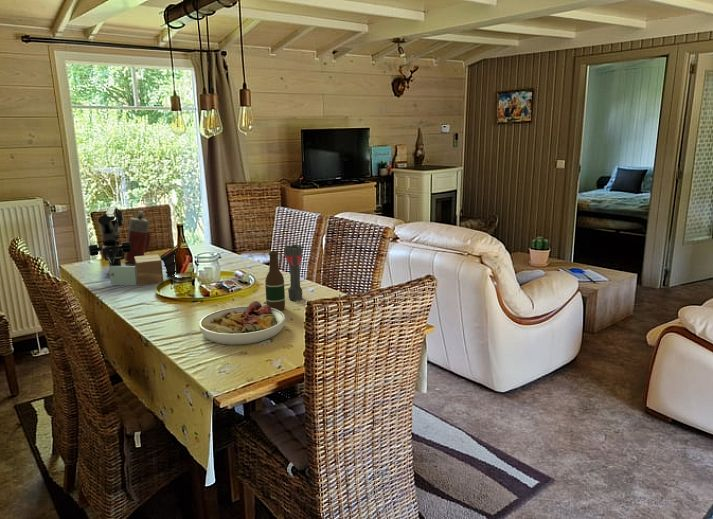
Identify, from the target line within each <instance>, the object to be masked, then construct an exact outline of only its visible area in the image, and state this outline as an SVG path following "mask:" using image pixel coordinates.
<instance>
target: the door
mask: <svg viewBox="0 0 713 519" xmlns="http://www.w3.org/2000/svg"><path fill="white" fill-rule="evenodd" d="M108 272H110V273H109V281H110V285H115V286H116V285H123V286H124V285H128V286H129V285H131V286H139V284H138V275H137V266H135V265H133V266H132V265H121V266H109V265H108Z"/></svg>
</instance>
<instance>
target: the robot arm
mask: <svg viewBox="0 0 713 519" xmlns="http://www.w3.org/2000/svg"><path fill="white" fill-rule="evenodd" d="M123 213H124V212H123V211H122V210H120V209H119V208H118V207H117V206H108V207H106V211H105V213H102V214H101V216H99V217H98V219H97V222H98V225H99V228H100V230H101V236H102V237H101V238H102V245H101V246H98V245H99V244H97V243H96V244H89V246H88V251H89V252H88V254H89V256H91V257H92V256H93V257H94V256H98V255H100V254H99V253H101V252H102V256H103V257H104V260H105V262H106V261H108V267H109V266H122V262H121V261H122V260H125V258H124V256H125V253H126V252H131V243H130V242H127V241H122V242H121V244H120V242H119V239H120V237H119V235H120V234H119V233H120V227H121V226H122V225H123V222H124V221H125V220H124V214H123ZM108 272H109V271H108ZM109 274H110V272H109Z"/></svg>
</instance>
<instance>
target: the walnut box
mask: <svg viewBox="0 0 713 519" xmlns="http://www.w3.org/2000/svg"><path fill="white" fill-rule="evenodd" d="M134 260H135V262H134V266H137V275H138V286H147V285H153V284H154V283H155V284H160V283H159V282H163V283H164V273H163V265H162V264H163V263H162V262H163V261H162V260H161V257H160V255H159V254H148V255H147V254H144V256H135V257H134Z"/></svg>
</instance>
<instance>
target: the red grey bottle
mask: <svg viewBox="0 0 713 519" xmlns="http://www.w3.org/2000/svg"><path fill="white" fill-rule="evenodd" d="M143 217H144V211H143V210H138V212H137V217H132V216H131V217H130V218H129V223H128V231H127V235H126V236H127V237H126V242H130V243H131V252H126V253H124V258H125V259H124V260H125V262H131V263H135V260H134V257H135V256H144V255H145V253H146V252H145V251H146V250H148V251H149V250H150V243H151V232H150V230H149V225H150V222H149V221H148V219H145V218H143Z"/></svg>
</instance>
